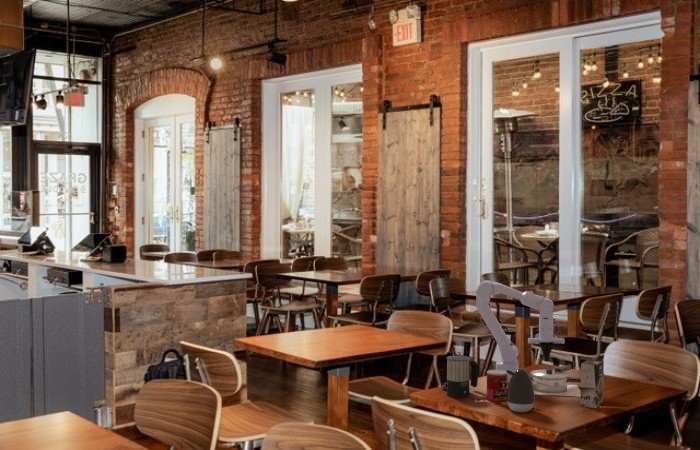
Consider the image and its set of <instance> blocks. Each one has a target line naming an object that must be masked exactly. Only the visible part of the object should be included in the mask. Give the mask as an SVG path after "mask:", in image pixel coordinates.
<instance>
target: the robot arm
mask: <svg viewBox="0 0 700 450" xmlns="http://www.w3.org/2000/svg"><path fill="white" fill-rule="evenodd" d="M475 295H476V297H475V307H476V309H477V311H478V312H479V315H480V316H481V318H482V320H484V321H483V322H484V323H485V324H486V326H487V328H488V329H489V331H490V333H491V334H492V336H493V338H494V339H495V341H496V343H497V346H498V349H499V351H500V354H501V355H500V356H501V361H495V362H496V365H495V370H503V371H507V370H509V371H512V372H515V371H516V370H518V369H520V368H519V365H520V364H519V363H520V362H519V360H518V358H517V357H518V356H519V353H520V352H519V351H520V350H519V348H518V347H517V346H516V345H515V344H514V343H513V342H512V340H511V339H510V338H509V337H508V336H507V334H506V333H505V330H504V329H503V327H502V325H501V324H500V322H499V320H498V319H497V317H496V315H495V313H494V312H493V310H492V308H491V307H490V305H489V304H490V301H491V297H492V296H493V295H494V296H496V295H505V296H508V297H511V298H514V299H517V300H519V302H520V303H521V304H522V305H523V306H527V307H528V308H532V309H534V310H539V316H538V320H539V321H538V322H539V323H538V337H530V338H529V337H528V338H527V343H528V344H531V345H532V344H539V346H540V349H541V353H542V354H543V360H544V362H549V358H550V355H551V353H552V350H553V348H554V346H555V345H554V344H563V345H564V344H565V338H562V337H554V307H555V306H554V302H553V300H552V299H551V298H549V297H545V296H544V295H541V296H540V295H538V294H536V293H534V292H533V291H532V290H530V291H527V290H525V291H524V292H523V291H519V290H517V289H515V288H512V287H510V286H507V285H505V284H503V283H500V282H496V281H492V280H489V279H486V280H483V282H481V283H479V285H478V286H477V289H476V291H475ZM511 377H512V376H511V375H510V374H508V373H507V384H509V382H510V379H511Z"/></svg>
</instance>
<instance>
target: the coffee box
mask: <svg viewBox="0 0 700 450" xmlns="http://www.w3.org/2000/svg"><path fill="white" fill-rule="evenodd" d="M604 363H605V362H604V361H603V360H602V361H601V360H589V359H588V360H585V361H583V362H581V364H580V378H581V383H580V389H579V390H580V396H579V404H580V405H581V407H583V408H591V409H597V408H599V407H600V406H601V403H603V402H604V373H605V372H604V365H605V364H604Z"/></svg>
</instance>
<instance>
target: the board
mask: <svg viewBox="0 0 700 450" xmlns="http://www.w3.org/2000/svg"><path fill="white" fill-rule="evenodd" d="M580 390H581V389H580V388H579V387H578V385H577V384H567V391H566V392H563V393H543V392H538V391H534V394H535V395H541V396H542V395H543V396H544V395H545V396H565V397H580Z"/></svg>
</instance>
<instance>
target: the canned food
mask: <svg viewBox="0 0 700 450" xmlns="http://www.w3.org/2000/svg"><path fill="white" fill-rule="evenodd" d="M507 389H508V383H507V372H506V371H503V370H496V369H489V370H487V371H486V400H487V401H488V402H490V403H496V404H500V403H501V404H502V403H505V402H506V395H507Z"/></svg>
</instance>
